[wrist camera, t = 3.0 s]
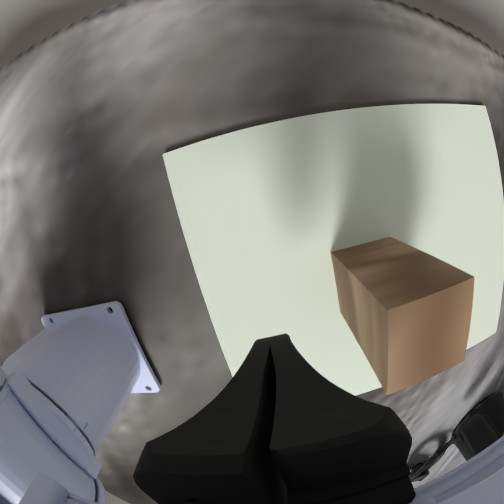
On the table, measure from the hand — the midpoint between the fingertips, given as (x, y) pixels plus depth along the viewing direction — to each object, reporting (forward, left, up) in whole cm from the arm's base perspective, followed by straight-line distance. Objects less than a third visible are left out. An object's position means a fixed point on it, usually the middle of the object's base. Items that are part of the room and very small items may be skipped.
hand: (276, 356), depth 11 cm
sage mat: (+8, 0, -6) cm, 10 cm away
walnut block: (+6, 0, -6) cm, 8 cm away
